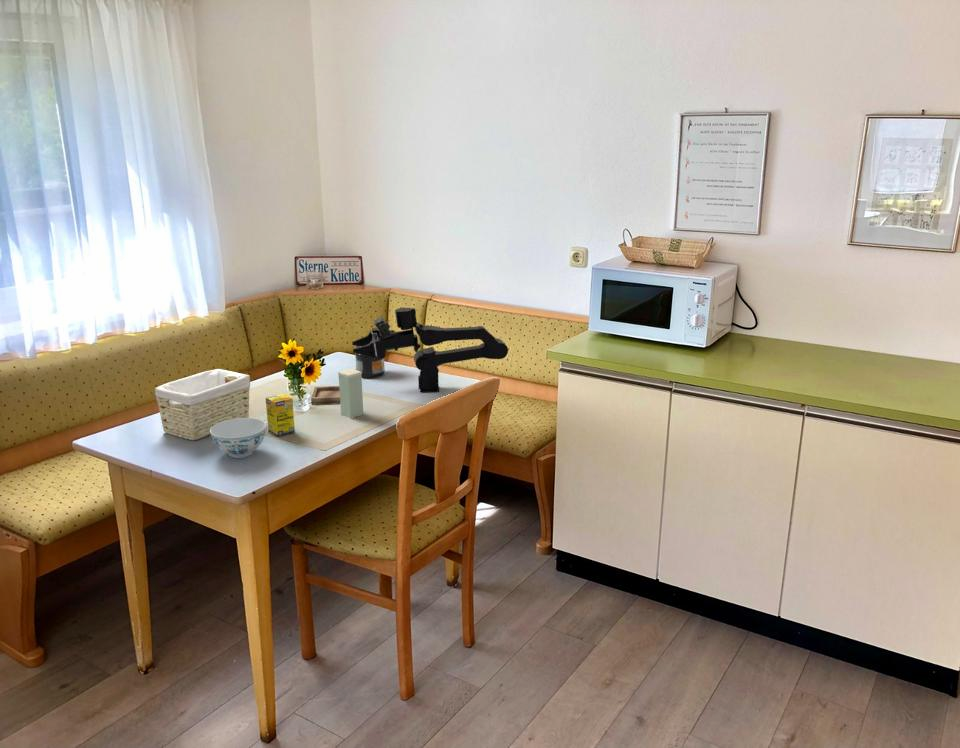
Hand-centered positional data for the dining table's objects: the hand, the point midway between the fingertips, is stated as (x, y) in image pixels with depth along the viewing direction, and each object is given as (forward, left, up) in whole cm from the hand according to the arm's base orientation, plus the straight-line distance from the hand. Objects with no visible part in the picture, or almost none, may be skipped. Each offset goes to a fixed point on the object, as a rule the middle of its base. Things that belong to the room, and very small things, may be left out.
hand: (352, 347), depth 263 cm
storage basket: (+43, +25, -17) cm, 53 cm away
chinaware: (+29, +47, -17) cm, 58 cm away
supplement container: (-4, -22, -17) cm, 28 cm away
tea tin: (0, +19, -17) cm, 26 cm away
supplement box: (+20, +32, -17) cm, 42 cm away
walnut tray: (+8, +2, -17) cm, 19 cm away
